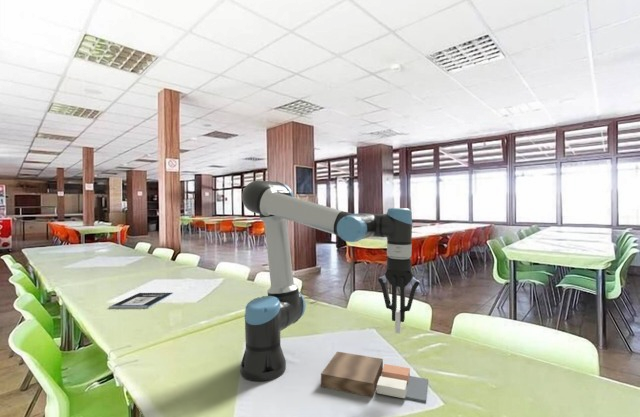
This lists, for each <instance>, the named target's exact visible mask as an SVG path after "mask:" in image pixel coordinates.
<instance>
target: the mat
mask: <svg viewBox="0 0 640 417" xmlns="http://www.w3.org/2000/svg"><path fill="white" fill-rule="evenodd" d="M428 387H429V379H428V378H425V377H419V376H413V375H410V377H409V382H408V384H407V391H406V397H405V398H404V399H406V400H411V401H417V402H420V403H427V398H428ZM375 392H376V394H378V393H377V389H376V390H375Z"/></svg>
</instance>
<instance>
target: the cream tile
mask: <svg viewBox="0 0 640 417" xmlns="http://www.w3.org/2000/svg"><path fill="white" fill-rule="evenodd" d="M376 390H377V393H376V394H379V395H385V396H389V397H390V396H391V397H396V398H400V399H405V397H406V391H407V381H405V380H399V379H393V378H388V377H382V375H381V376H380V378H379V380H378V383H377V388H376Z"/></svg>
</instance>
